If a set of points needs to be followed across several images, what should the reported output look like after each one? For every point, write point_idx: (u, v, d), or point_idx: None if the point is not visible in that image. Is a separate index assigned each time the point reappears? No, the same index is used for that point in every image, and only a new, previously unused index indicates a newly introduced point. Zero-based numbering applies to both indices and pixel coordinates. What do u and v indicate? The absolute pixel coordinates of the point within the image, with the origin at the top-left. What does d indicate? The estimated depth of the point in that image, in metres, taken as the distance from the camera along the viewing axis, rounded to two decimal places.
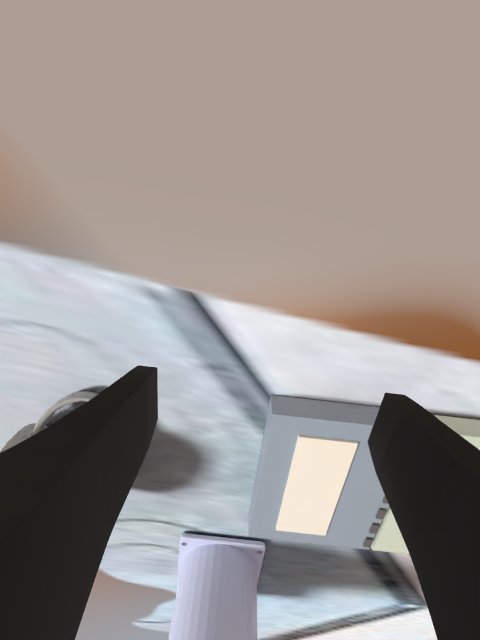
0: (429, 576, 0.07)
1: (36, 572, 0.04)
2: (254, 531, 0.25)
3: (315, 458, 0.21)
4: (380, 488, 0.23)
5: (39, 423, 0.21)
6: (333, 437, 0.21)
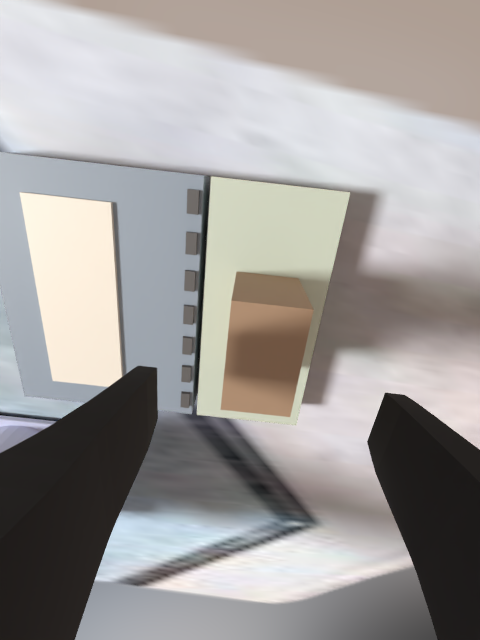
0: (429, 576, 0.07)
1: (36, 572, 0.04)
2: (28, 386, 0.18)
3: (58, 237, 0.14)
4: (174, 298, 0.15)
5: None
6: (75, 195, 0.14)
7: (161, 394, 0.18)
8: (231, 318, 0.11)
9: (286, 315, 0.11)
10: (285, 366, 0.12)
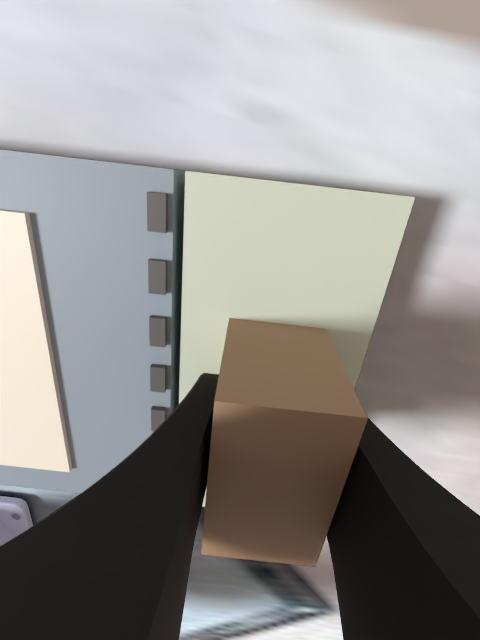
0: (339, 566, 0.07)
1: (175, 587, 0.04)
2: None
3: None
4: (136, 355, 0.10)
5: None
6: None
7: None
8: (215, 428, 0.06)
9: (315, 426, 0.06)
10: (310, 500, 0.07)
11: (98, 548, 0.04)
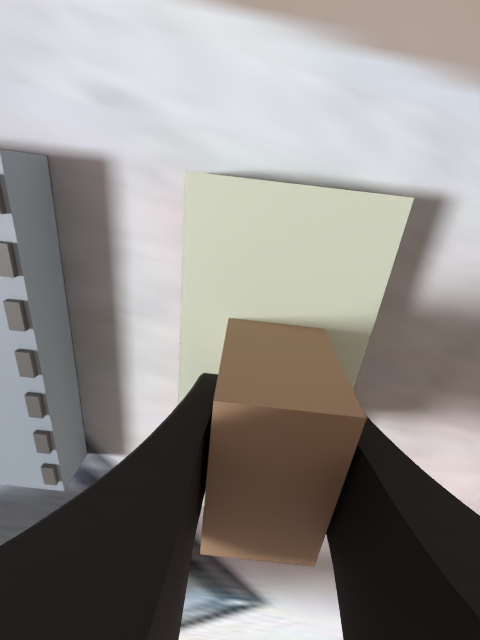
0: (339, 566, 0.07)
1: (175, 587, 0.04)
2: None
3: None
4: (1, 339, 0.10)
5: None
6: None
7: (16, 466, 0.13)
8: (214, 428, 0.06)
9: (314, 426, 0.06)
10: (309, 500, 0.07)
11: (97, 547, 0.04)
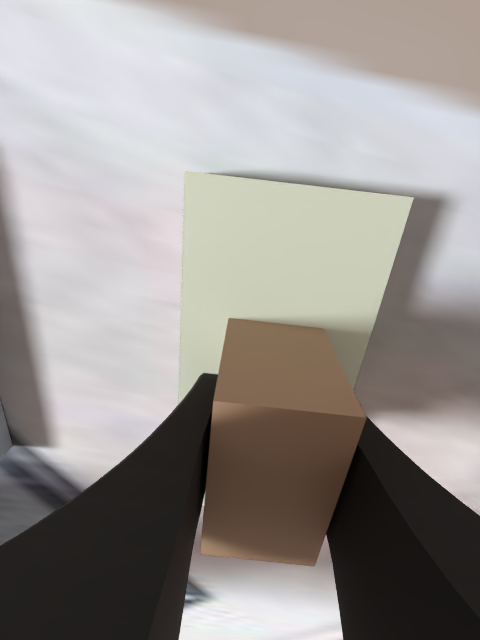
0: (339, 566, 0.07)
1: (175, 587, 0.04)
2: None
3: None
4: None
5: None
6: None
7: None
8: (214, 428, 0.06)
9: (313, 426, 0.06)
10: (309, 499, 0.07)
11: (97, 548, 0.04)
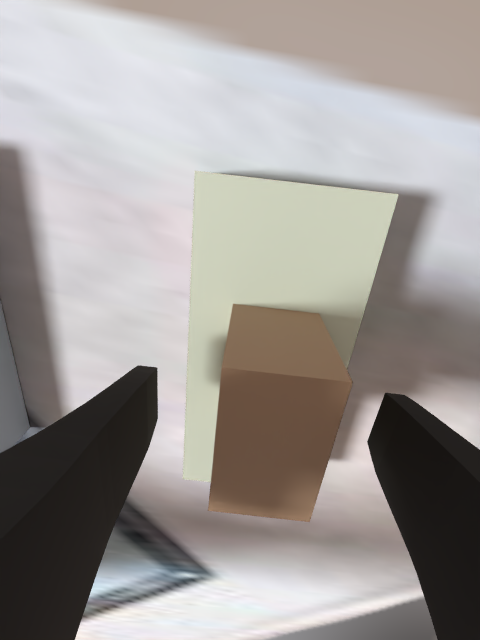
0: (429, 576, 0.07)
1: (36, 572, 0.04)
2: None
3: None
4: None
5: None
6: None
7: None
8: (222, 392, 0.07)
9: (307, 390, 0.07)
10: (304, 458, 0.08)
11: None
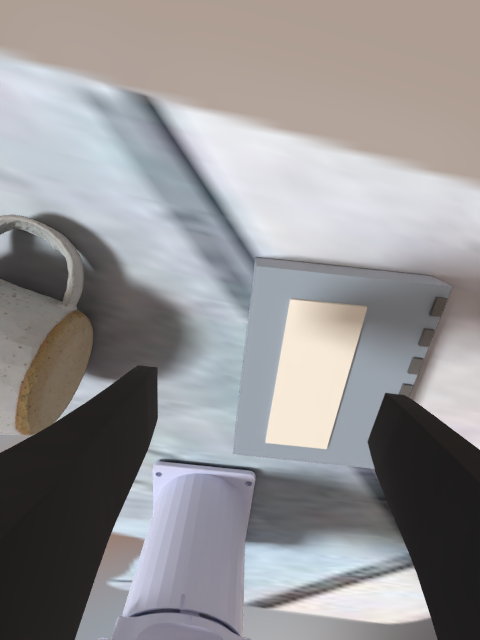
0: (429, 576, 0.07)
1: (36, 572, 0.04)
2: (239, 446, 0.21)
3: (312, 332, 0.17)
4: (395, 378, 0.18)
5: None
6: (335, 300, 0.16)
7: (357, 453, 0.20)
8: None
9: None
10: None
11: None
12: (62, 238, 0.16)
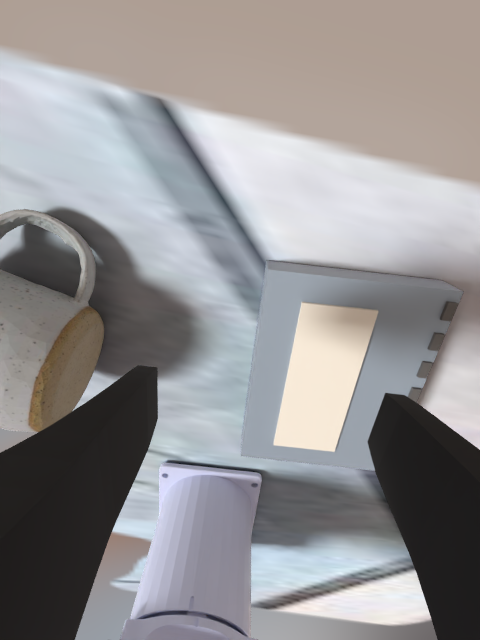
0: (429, 576, 0.07)
1: (36, 572, 0.04)
2: (247, 448, 0.21)
3: (322, 336, 0.17)
4: (404, 382, 0.18)
5: None
6: (347, 304, 0.16)
7: (365, 456, 0.20)
8: None
9: None
10: None
11: None
12: (75, 233, 0.16)
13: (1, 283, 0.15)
